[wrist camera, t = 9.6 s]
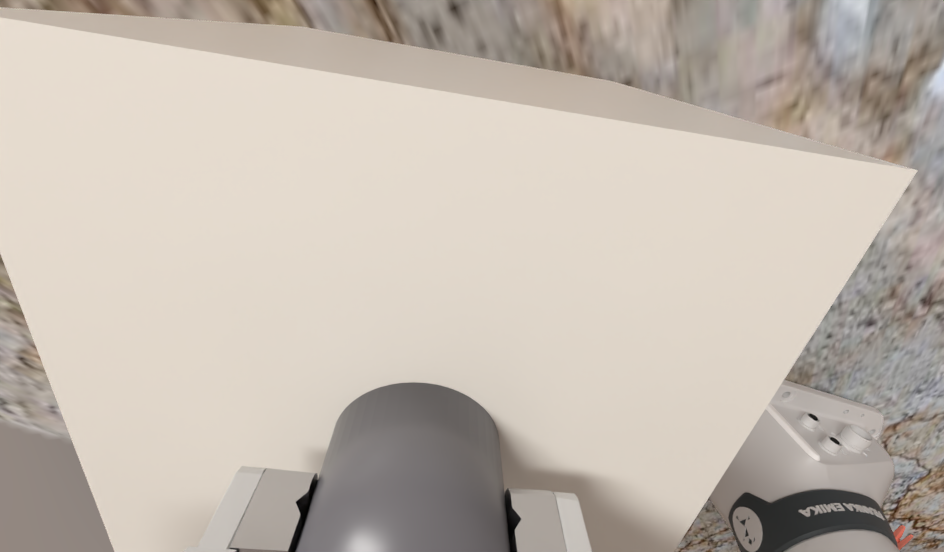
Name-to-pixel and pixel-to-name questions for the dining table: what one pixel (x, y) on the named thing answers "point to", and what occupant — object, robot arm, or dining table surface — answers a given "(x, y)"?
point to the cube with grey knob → (403, 277)
